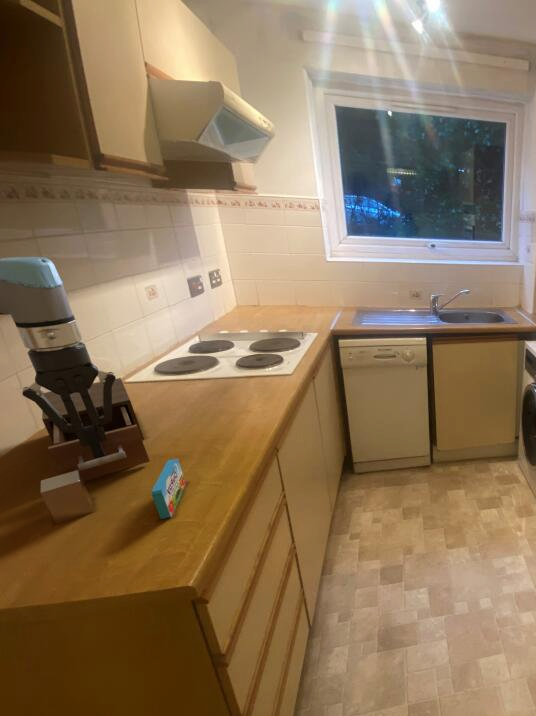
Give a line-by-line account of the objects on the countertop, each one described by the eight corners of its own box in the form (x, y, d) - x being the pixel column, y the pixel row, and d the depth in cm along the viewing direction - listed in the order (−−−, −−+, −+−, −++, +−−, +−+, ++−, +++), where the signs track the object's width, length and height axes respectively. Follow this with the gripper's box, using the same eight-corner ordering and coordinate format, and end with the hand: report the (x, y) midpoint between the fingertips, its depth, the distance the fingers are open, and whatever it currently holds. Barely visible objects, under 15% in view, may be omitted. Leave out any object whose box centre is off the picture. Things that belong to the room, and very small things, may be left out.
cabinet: (144, 439, 107) (130, 399, 103) (61, 462, 97) (42, 419, 93) (133, 413, 120) (120, 377, 116) (59, 431, 110) (42, 393, 106)
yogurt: (171, 518, 80) (161, 490, 78) (161, 520, 80) (150, 492, 77) (185, 483, 90) (177, 457, 88) (177, 484, 90) (168, 459, 87)
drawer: (154, 472, 92) (140, 435, 89) (66, 499, 83) (47, 460, 80) (138, 432, 108) (126, 400, 105) (63, 452, 99) (47, 417, 96)
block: (56, 524, 78) (40, 492, 76) (55, 511, 82) (40, 480, 79) (93, 511, 82) (79, 480, 79) (91, 500, 85) (78, 469, 82)
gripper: (1, 358, 72) (55, 477, 81) (105, 343, 81) (143, 452, 90) (4, 348, 77) (55, 461, 86) (101, 334, 86) (138, 439, 94)
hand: (100, 456), depth 88 cm, fingers closed
